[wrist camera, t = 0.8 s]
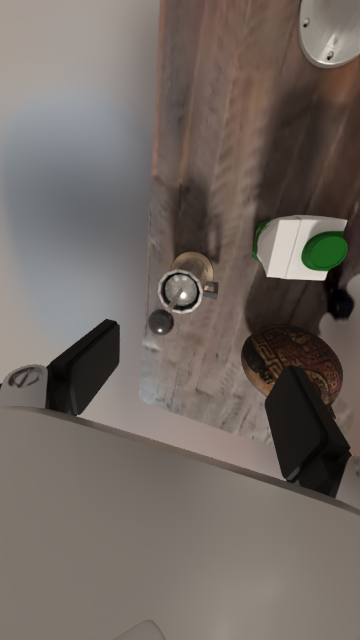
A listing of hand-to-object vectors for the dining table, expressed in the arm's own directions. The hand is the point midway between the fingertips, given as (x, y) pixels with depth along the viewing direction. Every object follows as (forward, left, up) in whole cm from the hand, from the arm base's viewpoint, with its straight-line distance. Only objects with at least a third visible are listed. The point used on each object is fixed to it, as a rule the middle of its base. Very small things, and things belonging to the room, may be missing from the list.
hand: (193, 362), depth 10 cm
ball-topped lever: (+5, -5, -25) cm, 26 cm away
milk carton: (-6, +11, -39) cm, 41 cm away
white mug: (+5, -4, -39) cm, 39 cm away
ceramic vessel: (+18, +22, -39) cm, 48 cm away
